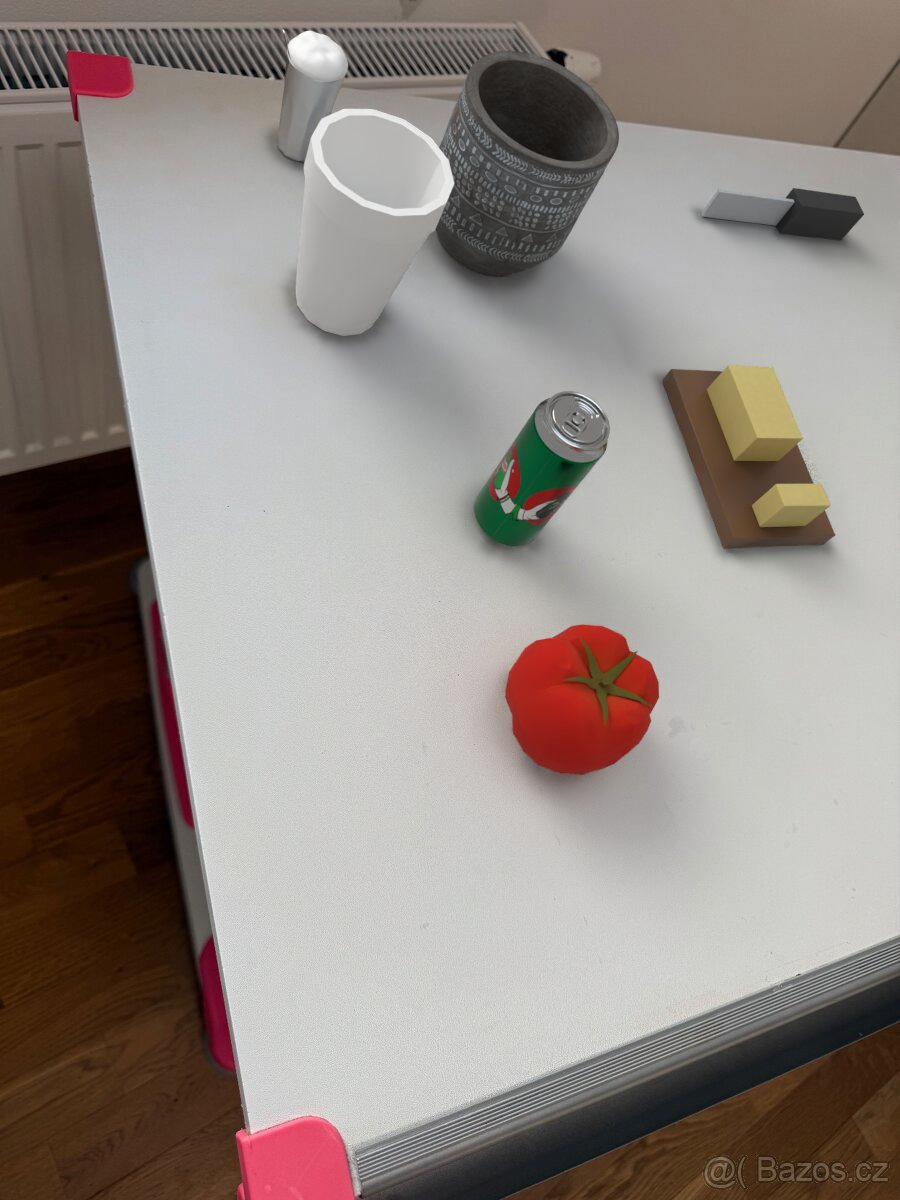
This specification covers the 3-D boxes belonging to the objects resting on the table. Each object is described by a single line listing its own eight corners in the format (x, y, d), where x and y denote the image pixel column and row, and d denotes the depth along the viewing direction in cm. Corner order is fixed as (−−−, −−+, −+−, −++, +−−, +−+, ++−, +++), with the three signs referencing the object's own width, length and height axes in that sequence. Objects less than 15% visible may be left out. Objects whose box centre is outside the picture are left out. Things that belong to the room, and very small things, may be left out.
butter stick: (749, 391, 82) (773, 366, 79) (778, 461, 79) (803, 438, 76) (706, 389, 80) (728, 364, 77) (733, 461, 77) (757, 437, 74)
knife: (832, 223, 100) (855, 196, 97) (841, 240, 99) (864, 214, 96) (697, 205, 93) (717, 176, 91) (705, 224, 93) (726, 195, 90)
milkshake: (251, 126, 78) (273, 8, 70) (313, 127, 80) (342, 14, 72) (269, 168, 77) (293, 53, 68) (331, 168, 79) (362, 56, 71)
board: (757, 384, 85) (767, 373, 83) (823, 544, 79) (835, 535, 77) (661, 380, 81) (671, 368, 80) (723, 548, 75) (734, 538, 73)
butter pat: (796, 504, 77) (822, 483, 75) (805, 526, 77) (831, 505, 74) (750, 505, 76) (775, 483, 73) (759, 527, 75) (785, 506, 72)
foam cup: (250, 270, 71) (283, 119, 60) (352, 242, 76) (400, 98, 65) (319, 367, 69) (366, 230, 58) (420, 333, 74) (480, 200, 63)
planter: (384, 201, 79) (433, 60, 68) (493, 173, 85) (554, 40, 75) (470, 312, 77) (534, 183, 66) (575, 274, 83) (650, 152, 72)
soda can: (548, 517, 70) (628, 419, 60) (517, 563, 67) (595, 469, 57) (491, 476, 70) (562, 371, 60) (458, 521, 67) (526, 419, 57)
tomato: (507, 792, 60) (558, 756, 53) (479, 659, 63) (524, 609, 57) (637, 779, 63) (700, 743, 57) (604, 653, 67) (659, 606, 60)
